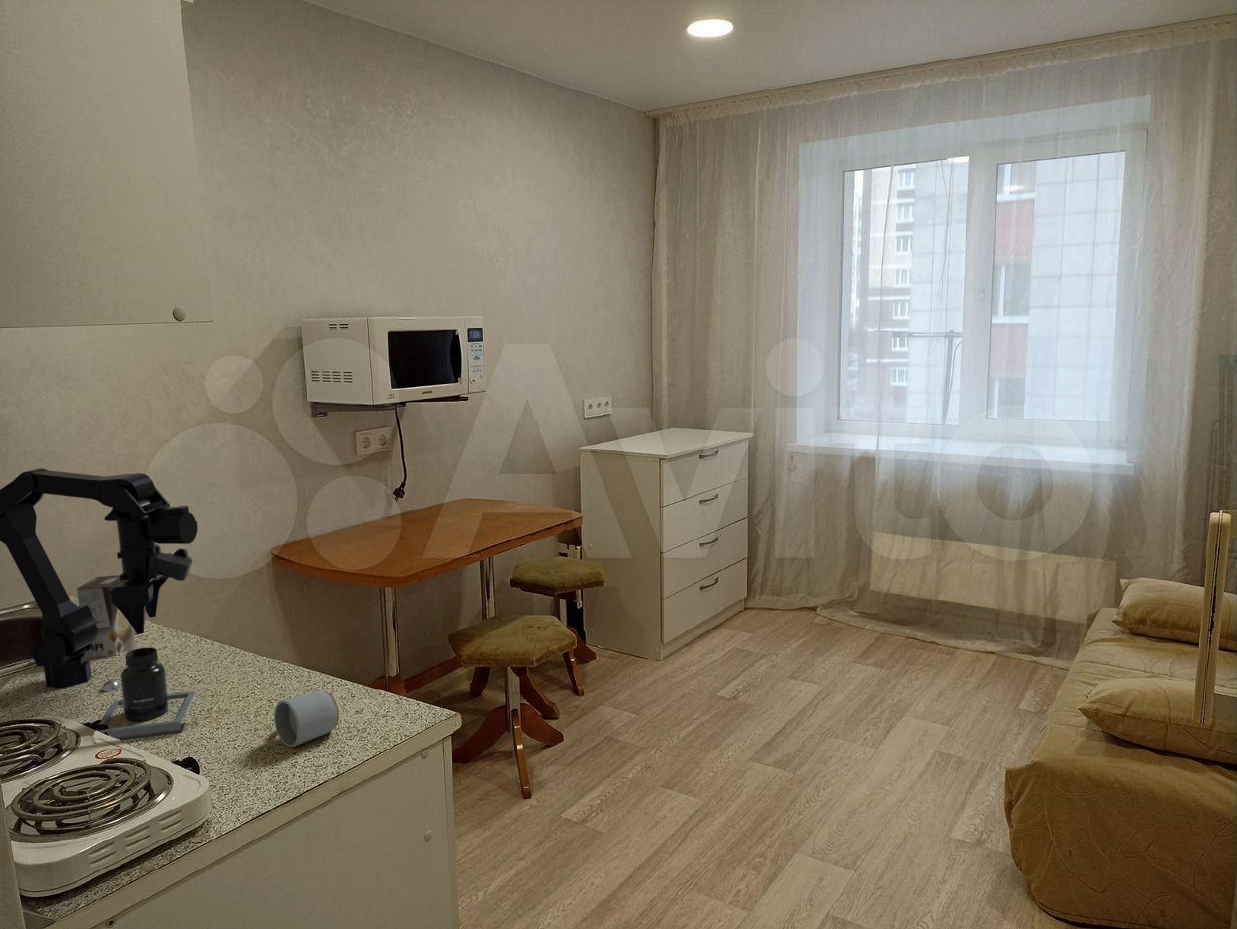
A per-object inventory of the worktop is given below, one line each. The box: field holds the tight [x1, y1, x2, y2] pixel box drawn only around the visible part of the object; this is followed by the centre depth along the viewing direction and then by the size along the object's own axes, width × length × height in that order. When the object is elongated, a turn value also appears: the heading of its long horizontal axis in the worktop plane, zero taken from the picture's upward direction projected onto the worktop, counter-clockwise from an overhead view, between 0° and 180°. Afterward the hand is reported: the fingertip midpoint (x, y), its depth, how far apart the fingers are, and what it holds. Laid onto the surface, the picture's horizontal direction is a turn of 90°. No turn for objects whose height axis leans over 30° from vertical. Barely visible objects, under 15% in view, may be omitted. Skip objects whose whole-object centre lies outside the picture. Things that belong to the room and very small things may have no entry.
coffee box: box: [76, 574, 136, 659], centre depth 183 cm, size 9×6×16 cm
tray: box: [99, 690, 196, 741], centre depth 153 cm, size 13×13×2 cm
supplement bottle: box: [120, 646, 169, 723], centre depth 152 cm, size 7×7×12 cm
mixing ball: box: [102, 679, 122, 693], centre depth 164 cm, size 3×3×3 cm
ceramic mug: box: [273, 690, 340, 748], centre depth 147 cm, size 11×8×8 cm
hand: (146, 624), depth 164 cm, fingers open, 9 cm apart
